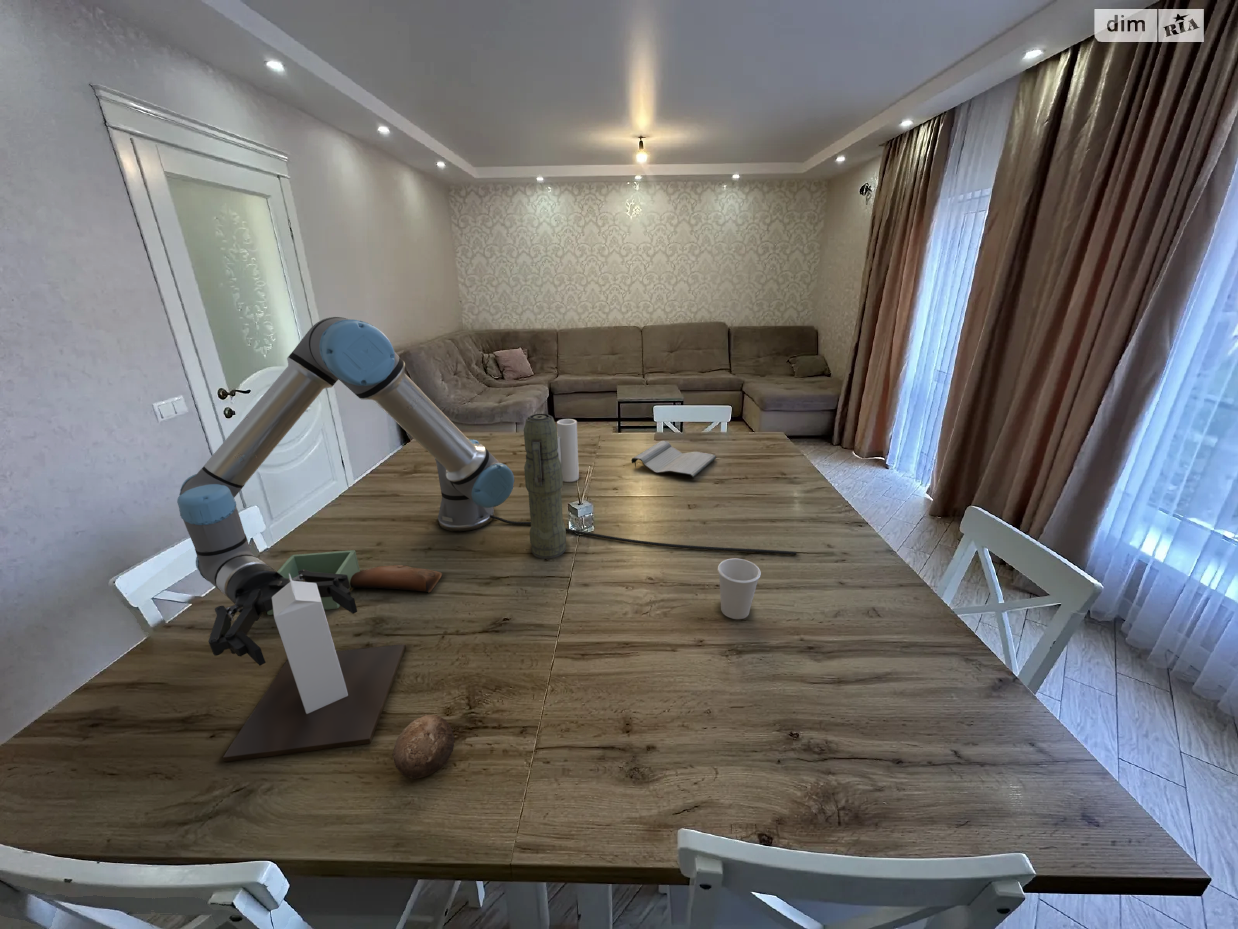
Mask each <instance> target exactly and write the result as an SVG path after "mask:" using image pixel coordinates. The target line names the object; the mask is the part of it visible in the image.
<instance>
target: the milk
mask: <svg viewBox="0 0 1238 929" xmlns="http://www.w3.org/2000/svg"><path fill="white" fill-rule="evenodd" d="M289 577H290V582H289V583H288V584H287V585H286V586H285V587H283V588H282V589H281V590H280V591H279V592H277V593H276V594H275V595H274V596H273V597H272V604H273V612H274V614H273V619H274V622H275V625H276V628H277V631H278V633H279V636H280V639H281V642H282V645H283V648H284V651H285V654H286V658H287V660H288V661H289V664H290V667H291V669H292V672H293V675H294V678H295V681H296V684H297V687H298V690H299V693H300V696H301V699H302V702H303V705H304V708H305V711H306V714H308V713H311V712H313V711H315V710H317V709H320V708H322V707H324V706H326V705H329V704H331V703H333V702H335V701H338V700H340V699H342V698H344V697H347V696H348V693H347V689H346V685H345V682H344V678H343V675H342V671H341V668H340V664H339V661H338V657H337V654H336V651H337V650H336V647H335V643H334V640H333V636H332V633H331V628H330V625H329V623H328V619H327V615H326V611H325V610H324V608H323V605H322V601H321V598H320V594H319V591H318V587H317V584H316V583H310V582H300V581H292V579H291V576H290V573H289Z"/></svg>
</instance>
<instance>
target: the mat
mask: <svg viewBox="0 0 1238 929" xmlns="http://www.w3.org/2000/svg"><path fill="white" fill-rule="evenodd" d="M717 458H718V457H717V455H716V454H714V453H713V454H712V453H707V452H702V451H690V452H681V451H680V450H678V449H677V448H675V447H674V446H672V444H671V443H670V442H669V441H667V440H660V441H658V442H657V443H655V444H653V445H652V446H650V447H649V448H646V449H645V450H644V451H642V452H641V453H639V454H637V455H636V456H634V457H631V464H634V466H635V468H637V461H641V462H642V464H643V465H644V466H645V467H647V469H649V470H651V472H654V473H657V474H664V473H673V474H680V475H687V476H691V477H692V479H694V478H695V477H696V476H697V475H698V474H699V473H701V472H702V471H703V470H704V469H706V467H707V466H709V465H710V464H711V463H712V462H715V460H716V459H717Z"/></svg>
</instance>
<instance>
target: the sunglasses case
mask: <svg viewBox="0 0 1238 929" xmlns="http://www.w3.org/2000/svg"><path fill="white" fill-rule="evenodd" d="M442 577H443V573H442V572H440V571H436V570H433V569H428V568H419V567H411V566H410V565H402V564H393V565H381V566H379V565H378V566H375V567H371V568H367V569H364V570H360V572H357V573H355V574H354V575H353V576H352V578H351V581H350V585H351V588H352V589H386V590H402V591H415V592H428V593H432V591H433V590H434V589H435V587H436V586H437V585H438V583H439V582H440V580H441V579H442Z"/></svg>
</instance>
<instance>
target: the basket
mask: <svg viewBox="0 0 1238 929" xmlns="http://www.w3.org/2000/svg"><path fill="white" fill-rule="evenodd" d="M302 569H306V570H308V571H310V572H319V573H332V574H344V575H347V576H348V580H349V584H350V581H351V578H352V576H353V575H354V574H355V573H357V572H360V571H361V569H360V564H359V560H358V556H357V552H356V550H355V549H352V550H351V549H349V550H335V551H326V552H313V553H298V554H291V555H290V557H289V558H288V559H287V560H286V561H284V563H283V564H282V565H281V566H280V568H279V569H278V570H276V571H277V572H278V573H280V574H281V575H282V576H283V577H284V578H289V579H290V577H289V573H290V576H291V579H293V578H295V577H297V576H298V575H299V574H298V571H300V570H302ZM351 588H352V587H351V585H350V588H349V591H350V589H351ZM320 598H321V601H322V605H323V608H324V611H326V610H327V611H328V610H337V609H339V608H340V606H341V605H339V604H338V603H336V602H335V601H333V599H332V597H320ZM266 613H267V615H268V616H272V615H273V616H274V612H273V609H272V610H270V611H268V612H266Z"/></svg>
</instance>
